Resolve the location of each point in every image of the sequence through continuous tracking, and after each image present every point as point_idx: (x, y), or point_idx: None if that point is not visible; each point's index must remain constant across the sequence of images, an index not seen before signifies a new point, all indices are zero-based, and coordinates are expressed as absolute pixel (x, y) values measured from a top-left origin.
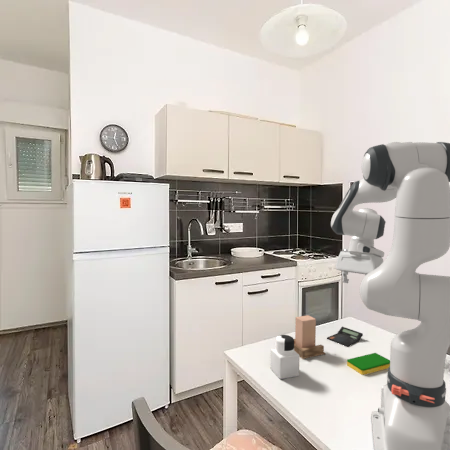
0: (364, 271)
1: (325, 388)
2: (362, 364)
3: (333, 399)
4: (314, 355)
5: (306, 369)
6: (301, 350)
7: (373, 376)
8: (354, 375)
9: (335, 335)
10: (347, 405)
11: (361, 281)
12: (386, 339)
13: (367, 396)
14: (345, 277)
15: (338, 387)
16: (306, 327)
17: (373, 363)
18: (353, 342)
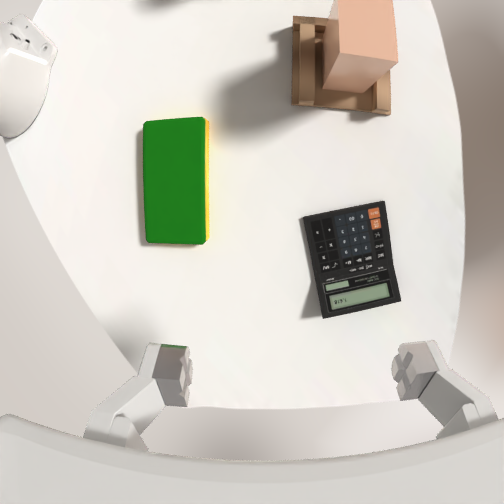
0: (98, 459)
1: (149, 7)
2: (162, 141)
3: (116, 6)
4: (292, 63)
5: (237, 5)
6: (301, 16)
7: (135, 147)
8: (158, 101)
9: (383, 244)
10: (92, 22)
11: (181, 376)
12: (285, 371)
13: (90, 75)
14: (433, 391)
15: (138, 34)
16: (333, 20)
17: (154, 178)
18: (312, 258)
